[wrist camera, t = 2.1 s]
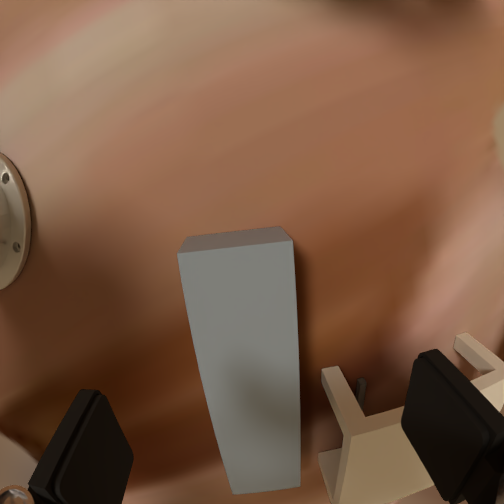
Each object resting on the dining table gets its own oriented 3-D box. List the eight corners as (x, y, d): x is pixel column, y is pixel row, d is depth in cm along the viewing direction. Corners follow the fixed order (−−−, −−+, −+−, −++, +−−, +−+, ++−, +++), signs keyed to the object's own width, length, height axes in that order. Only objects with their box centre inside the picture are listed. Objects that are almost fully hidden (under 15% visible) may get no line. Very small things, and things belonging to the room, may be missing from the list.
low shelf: (321, 368, 26) (351, 436, 17) (466, 332, 26) (515, 372, 18) (317, 460, 29) (335, 518, 21) (439, 423, 30) (471, 466, 22)
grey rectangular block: (186, 236, 22) (176, 253, 18) (280, 226, 22) (292, 240, 18) (231, 462, 28) (232, 494, 24) (293, 454, 28) (300, 486, 24)
